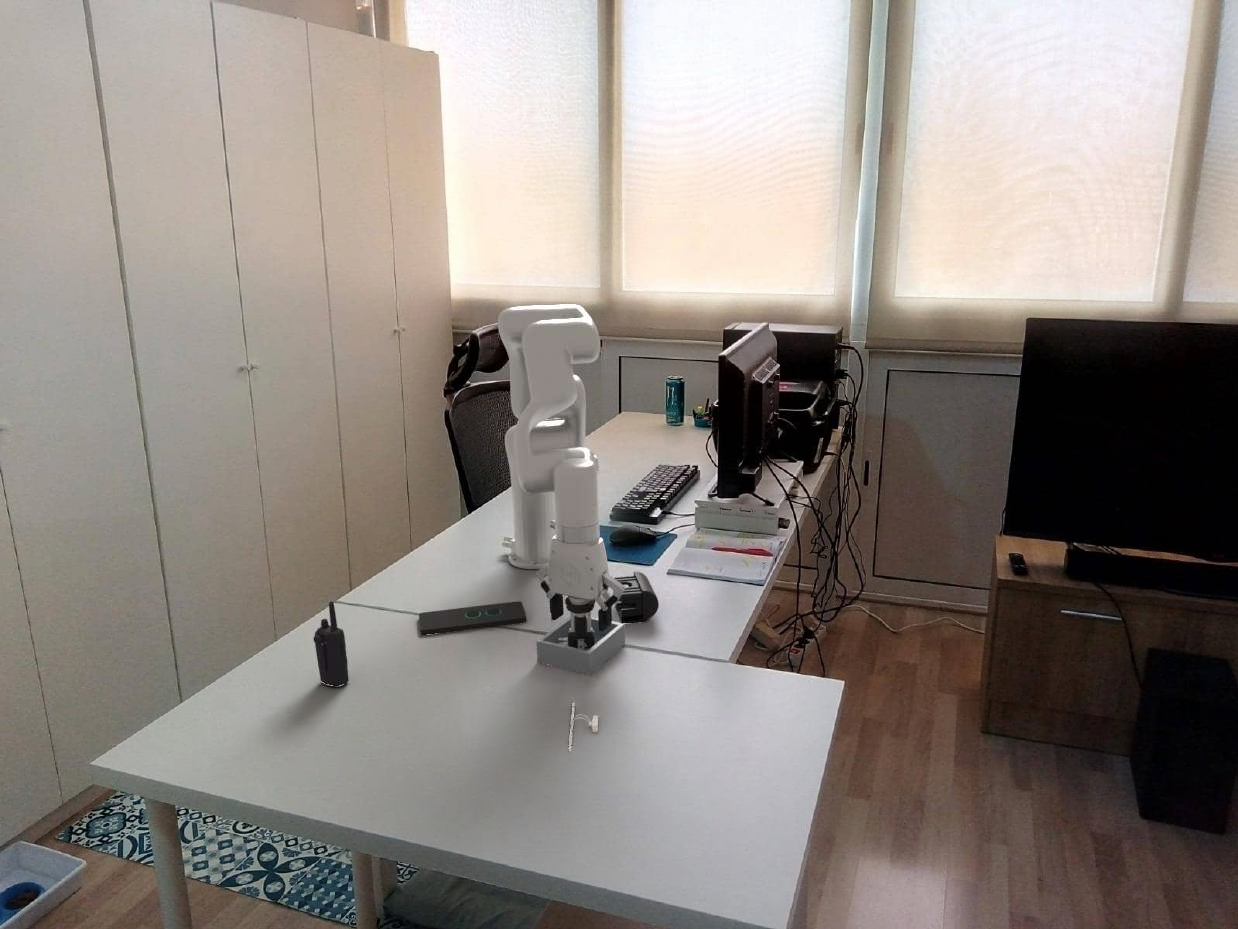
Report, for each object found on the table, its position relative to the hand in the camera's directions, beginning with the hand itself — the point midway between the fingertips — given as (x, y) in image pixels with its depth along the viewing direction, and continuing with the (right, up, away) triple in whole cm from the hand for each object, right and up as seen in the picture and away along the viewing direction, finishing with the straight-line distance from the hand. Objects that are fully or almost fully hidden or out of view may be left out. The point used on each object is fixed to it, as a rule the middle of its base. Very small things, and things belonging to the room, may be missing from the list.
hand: (580, 622), depth 157 cm
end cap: (+10, -1, +17) cm, 20 cm away
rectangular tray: (0, -6, +2) cm, 6 cm away
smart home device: (-22, -3, +16) cm, 27 cm away
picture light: (+1, -13, -21) cm, 24 cm away
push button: (-1, -5, +2) cm, 5 cm away
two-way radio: (-41, -9, -7) cm, 43 cm away
